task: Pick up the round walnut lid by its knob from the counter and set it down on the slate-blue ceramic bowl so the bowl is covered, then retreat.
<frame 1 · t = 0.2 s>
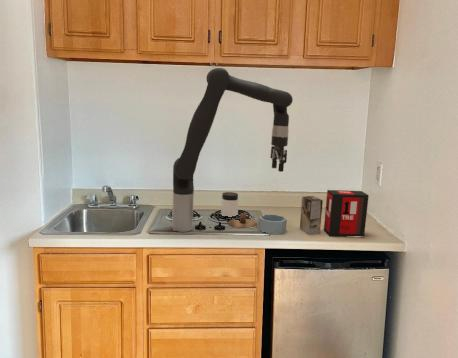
hand: (277, 169, 201), 28 cm above the worktop, fingers open, 8 cm apart
jar: (229, 216, 222), on the worktop
lid: (242, 225, 209), on the worktop
bowl: (272, 230, 202), on the worktop
cleaning product box: (343, 234, 202), on the worktop
coffee box: (309, 231, 204), on the worktop
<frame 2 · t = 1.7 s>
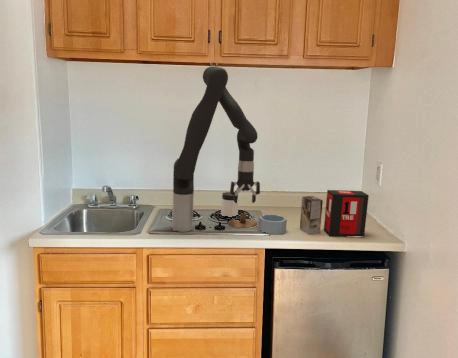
hand: (244, 202, 207), 11 cm above the worktop, fingers open, 8 cm apart
nothing on the worktop moved.
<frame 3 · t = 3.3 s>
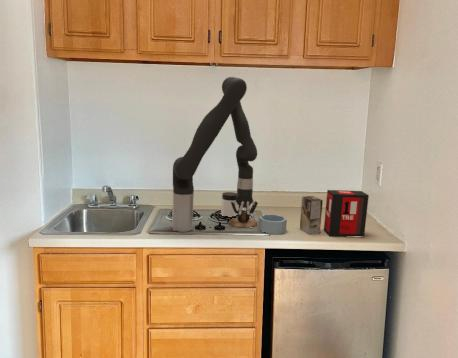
hand: (243, 221, 209), 1 cm above the worktop, fingers closed on lid, 3 cm apart
lid: (243, 224, 209), on the worktop, touching gripper
everything else where it was.
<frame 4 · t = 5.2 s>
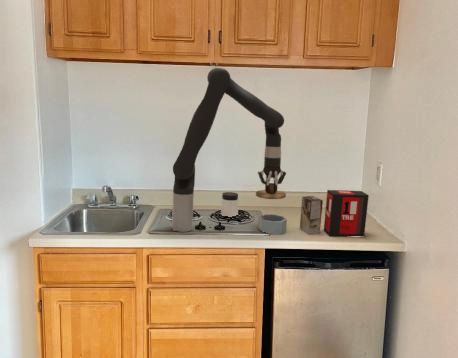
hand: (271, 192, 200), 18 cm above the worktop, fingers closed on lid, 3 cm apart
lid: (270, 195, 200), point 16 cm above the worktop, touching gripper
everything else where it was.
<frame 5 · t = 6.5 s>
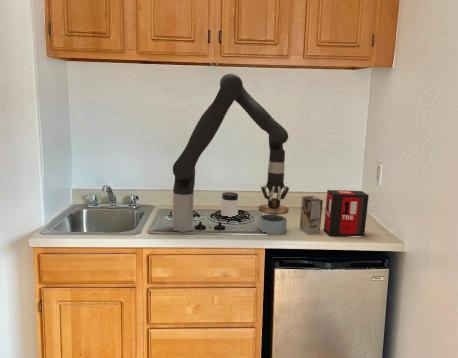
hand: (273, 207, 200), 11 cm above the worktop, fingers closed on lid, 3 cm apart
lid: (273, 210, 200), point 10 cm above the worktop, touching gripper
everything else where it was.
when the fingers open (9 cm above the worktop, at t = 7.2 s): lid drops 1 cm, resting on bowl.
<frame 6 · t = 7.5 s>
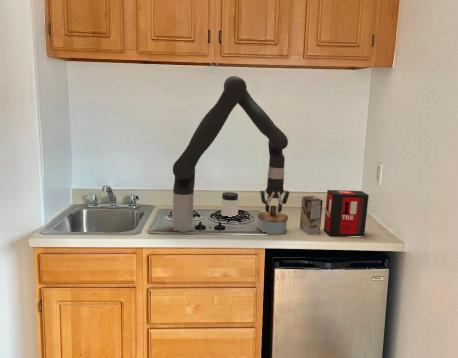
hand: (273, 212, 200), 9 cm above the worktop, fingers open, 5 cm apart
lid: (272, 218, 201), point 6 cm above the worktop, touching bowl
everything else where it was.
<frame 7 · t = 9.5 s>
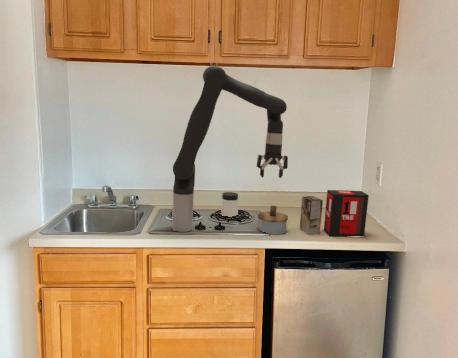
hand: (271, 177, 199), 25 cm above the worktop, fingers open, 8 cm apart
nothing on the worktop moved.
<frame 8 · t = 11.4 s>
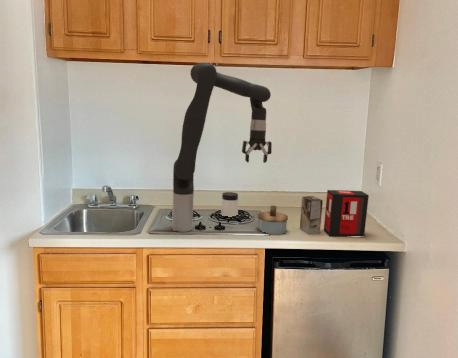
hand: (256, 162, 208), 30 cm above the worktop, fingers open, 8 cm apart
nothing on the worktop moved.
at the end: lid 0.1 cm off-centre on the bowl, point 6.0 cm above the bowl's base; lid tilted 0°; the gripper is holding nothing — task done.
